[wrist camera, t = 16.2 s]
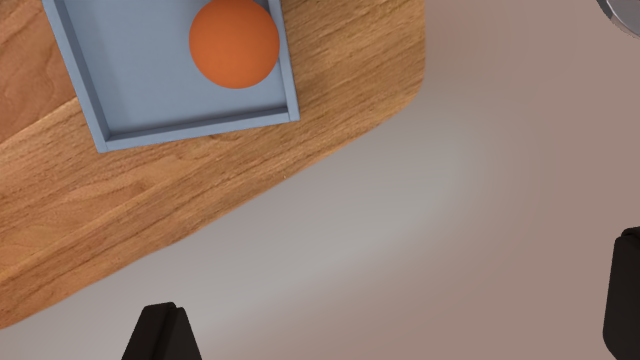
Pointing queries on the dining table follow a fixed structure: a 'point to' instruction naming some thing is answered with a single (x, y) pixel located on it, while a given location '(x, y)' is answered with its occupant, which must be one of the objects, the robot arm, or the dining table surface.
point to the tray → (159, 73)
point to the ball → (234, 43)
